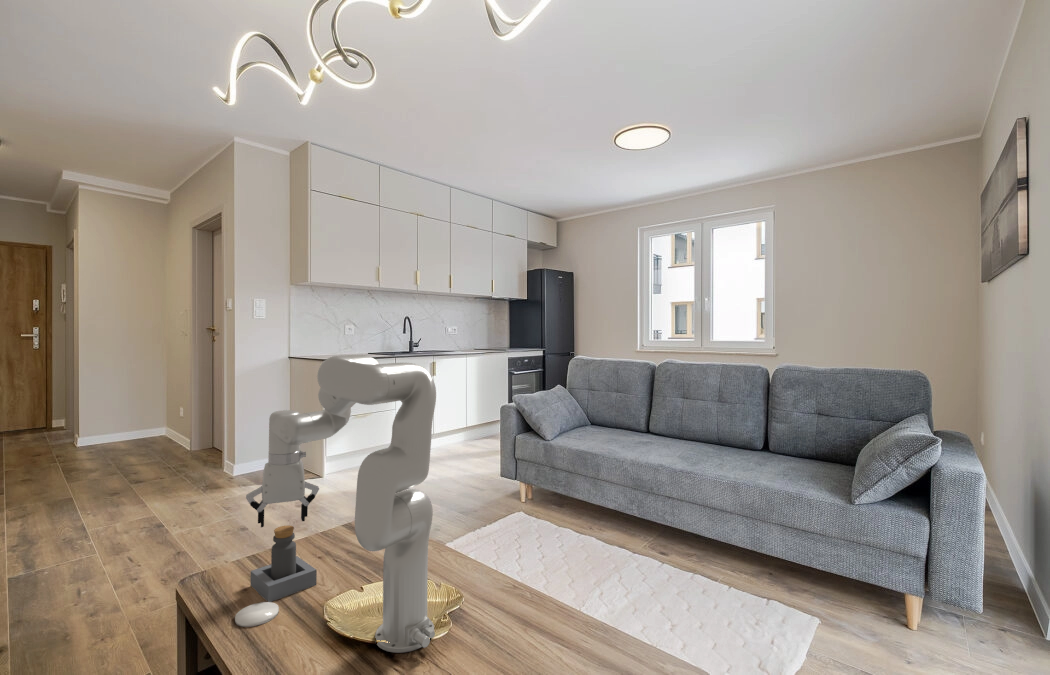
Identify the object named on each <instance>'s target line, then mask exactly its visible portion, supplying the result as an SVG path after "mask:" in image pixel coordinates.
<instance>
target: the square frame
mask: <svg viewBox="0 0 1050 675" xmlns="http://www.w3.org/2000/svg"><path fill="white" fill-rule="evenodd" d="M317 571H318V570H317V569H316V568H315V567H314V566H312V565H311V564H309V563H308V562H307V561H305V560H303V559H302V558H301V557H299V556H298V555H296V573H295V574H292V575H289V576H287V577H284V578H281V579H278V580H275V581H274V580H272V579H271V563H270V564H268V565H265V566H261V567H258V568H255V569H253V570H250V587H251V586H252V587H253V588H254V589H255V590H256V591H257V592H258V593H257V592H256V591H255V592H256V593H257V594H258V595H259V596H261V597H262V599H263V600H265V602H267V601H268V602H272V603H273V602H274V601H278V600H280V599H283V598H285V597H289V596H291V595H293V594H296V593H299V592H302V591H304V590H306V589H309V588H312V587H314V586H317V582H318V581H317V577H318V576H317ZM252 587H251V588H252ZM253 588H252V589H253ZM254 589H253V590H254Z"/></svg>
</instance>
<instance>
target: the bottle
mask: <svg viewBox="0 0 1050 675" xmlns="http://www.w3.org/2000/svg"><path fill="white" fill-rule="evenodd" d="M294 529H295V527H294V525H281V526H277V527H276V528H274V530H273V532H274V535H273V538H272V541H273V542H274V544H273V545H272V546H271V556H270V557H271V563H270V564H271V579H272V580H274V581H275V580H278V579H281V578H284V577H287V576H289V575H292V574H295V573H296V556H297V543H296V542H295V541H294V539H295V537H296V536H295V535H296V534H295V532H294Z"/></svg>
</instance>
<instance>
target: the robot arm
mask: <svg viewBox="0 0 1050 675" xmlns="http://www.w3.org/2000/svg"><path fill="white" fill-rule="evenodd" d="M316 377H317V382H318V386H319V387H320V388H319V390H318V394H317V398H318V400H319V403H320V405H321V406H322V408H323V410H318V411H317V410H315V411H309V412H304V413H300V412H299V411H298V410H293V409H292V410H291V409H290V410H289V409H288V410H287V409H286V410H285V409H284V410H278V411H274V412H272V413H270V415H269V418H268V419H269V422H268V457H267V459H268V460H267V461H268V462H267V463H265V464H264V467H263V472H262V482H261V483H262V484H261V486H259V487H257V488H255V489H254V490H252V491H251V492H249V493H247V494H246V495H245V499H246V501H247V502H248V504H249V505H250V508H253V509H254V510H255V511H256V512H257V524H260V528H264V527H265V508H266V507H267V506H268V505H271V504H279V503H288V502H296V501H300V503H301V505H300V506H301V508H300V520H301V522H305V520H306V518H307V517H308V508H309V507H308V506H309V505H310V503H311V502H312V501H313V500H314V499H315V498H316V495H318V492H319V491H320V488H319V486H318V485H317V484H313V483H310V482H307V481H306V480H305V478H306V476H305V468H304V462H303V460H302V458H306V456H307V452H306V451H302V450H301V445H302V444H306V443H307V444H308V443H309V442H314V441H321V440H325V439H328V438H331V437H333V436H335V435H336V434H337V433H338V432H339V431H340V430H342V429H343V428H344V427H345V426H346V425H347V424H348V422H349V421H350V418H351V413H352V407H354V405H355V404H359V405H366V406H374V405H381V404H388V403H394V402H399V401H400V402H401V405H400V407H399V409H398V410H397V412H396V414H395V416H394V419H393V422H392V425H391V426H392V427H391V428H392V429H391V432H392V433H391V441H390V443H389V444H390V445H389V446H388V447H385V448H381V449H378V450H375V451H373V452H371V453H369V454H368V455H367V456H366V457H364V459H363V461H361V463H360V466H359V469H358V472H357V478H356V495H355V496H356V497H355V509H354V510H355V511H354V531H355V536H356V538H357V541H358V543H359V544H360V546H361V548H363V549H364V550H366V551H369V552H379V551H382V550H384V552H383V562H382V564H383V566H382V567H383V570H382V572H383V573H382V577H383V578H382V623H381V624H380V626H378V628H377V629H376V631H375V634H374V635H375V636H374V638H376V640H380V641H381V640H386V641H388V643H385V642H378V643H377V644H376V645H377V646H378V648H380V649H382V650H383V651H386V652H390V653H398V654H399V653H402V654H403V653H409V652H412V651H416V650H418V649H420V648H425V649H426V648H427V647H428V646H429V644H430V641H431V640H430V639H429V638H432V639H433V638H434V637H435V635H436V633H435V625H434V622H433V621H432V619H430V618H429V616H428V576H429V575H428V574H429V572H428V569H429V568H428V566H429V540H430V533H431V527H432V522H433V512H434V509H433V504H432V502H431V499H430V498H429V496H428V495H427V494H426V493H425V492H424V491H423V490H419V489H416V488H414V487H416V486H419V485H421V484H422V483H423V482H424V481H425V480H426V479H427V477H428V475H429V470H430V461H431V450H432V436H433V434H432V430H433V420H434V413H435V409H436V402H437V388H436V384H435V381H434V379H433V376H432V375H431V374H430V372H429V371H428V370H427V369H426V368H424V367H423V366H421V365H419V364H416V363H412V362H391V363H390V362H389V363H380V362H379V361H378V360H377V359H375V358H374V357H372V356H370V355H363V354H354V355H353V354H352V355H346V354H345V355H333V356H330V357H328V358H326V359H325V360H324V361H323V362H322V363H321V365H320V366H319V368H318V370H317V376H316ZM411 488H412V489H411ZM413 488H414V489H413ZM306 489H308V490H310V491H311V493H310V494H309V495H308V496H307V497H306V496H305V494H306ZM260 494H261V499H262V500H261V501H260V502H258V501H256V500H255V497H257V496H259V495H260ZM389 642H390V643H389Z"/></svg>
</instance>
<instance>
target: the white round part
mask: <svg viewBox="0 0 1050 675" xmlns="http://www.w3.org/2000/svg"><path fill="white" fill-rule="evenodd" d="M279 609H280V607H279V605H278V604H277V603H275V602H273V601H272V602H267V601H261V602H258V603H253V604H249V605H248V606H247V605H246V606H245V607H243V608H241V609H240V610H239V611H238V612H236V614H235V615H234V622H235V623H234V624H235V625H237V626H239V627H241V628H243V627H244V628H250V627H251V628H252V627H257V626H260V625H264V624H266V623H269V622H270V621H272V620H274V619H275V618H276V617H277V616H278V614H279V611H280V610H279Z"/></svg>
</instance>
